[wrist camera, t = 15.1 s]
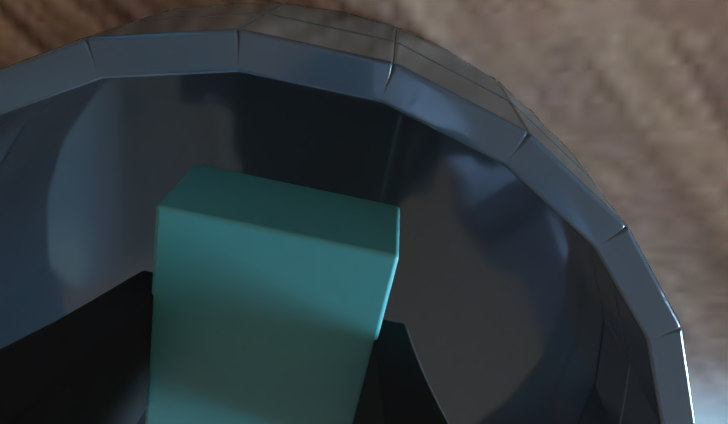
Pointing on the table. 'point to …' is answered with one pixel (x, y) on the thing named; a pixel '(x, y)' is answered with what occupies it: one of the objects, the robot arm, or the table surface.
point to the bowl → (347, 177)
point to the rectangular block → (265, 300)
